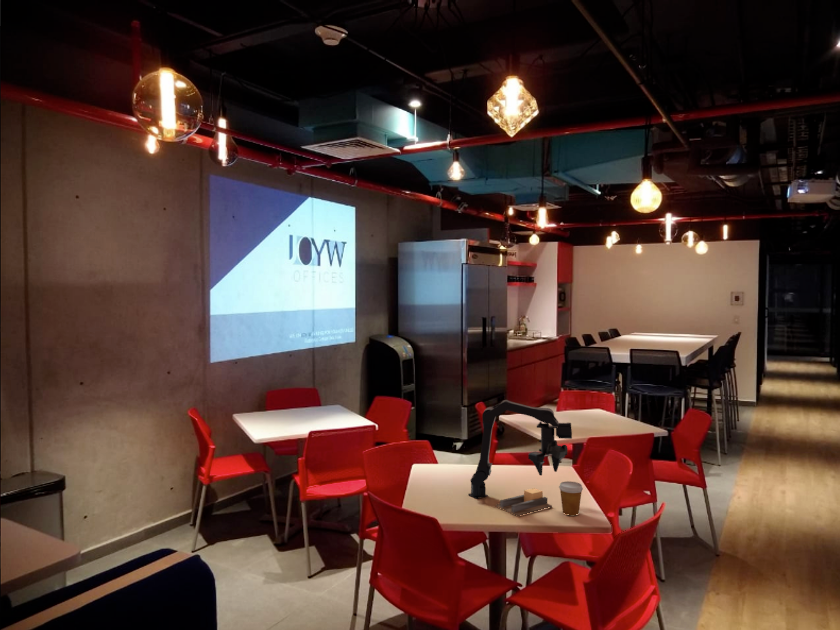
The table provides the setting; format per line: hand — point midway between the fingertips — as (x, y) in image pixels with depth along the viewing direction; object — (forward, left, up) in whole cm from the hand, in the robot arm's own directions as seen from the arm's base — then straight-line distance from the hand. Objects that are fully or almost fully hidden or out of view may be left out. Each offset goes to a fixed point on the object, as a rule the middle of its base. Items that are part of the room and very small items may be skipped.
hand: (548, 473), depth 256 cm
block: (0, -9, -11) cm, 14 cm away
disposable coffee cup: (+16, -3, -12) cm, 20 cm away
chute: (0, -14, -12) cm, 19 cm away
